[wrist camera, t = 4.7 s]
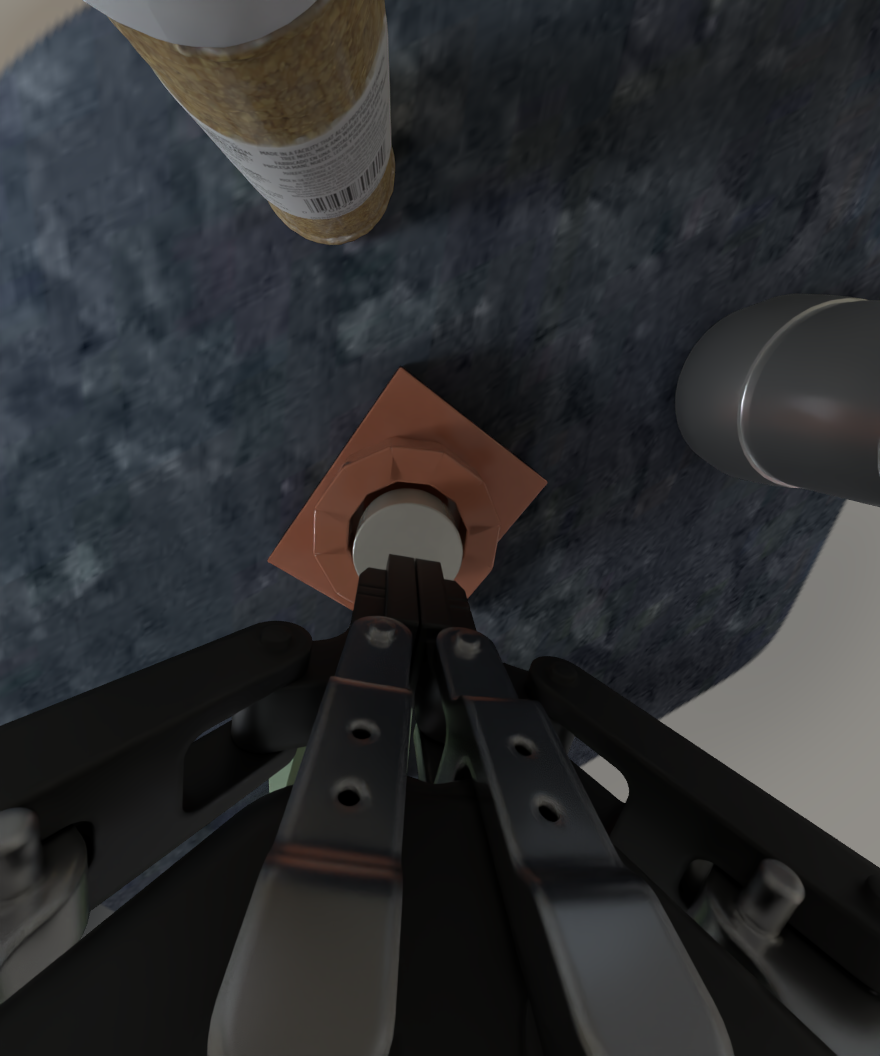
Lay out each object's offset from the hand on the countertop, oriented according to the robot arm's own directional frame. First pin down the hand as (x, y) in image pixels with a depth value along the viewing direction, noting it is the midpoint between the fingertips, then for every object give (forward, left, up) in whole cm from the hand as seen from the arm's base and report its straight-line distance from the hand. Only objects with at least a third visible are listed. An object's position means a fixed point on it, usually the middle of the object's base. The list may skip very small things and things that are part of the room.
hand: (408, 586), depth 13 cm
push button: (0, 0, -3) cm, 4 cm away
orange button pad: (0, 0, -7) cm, 7 cm away
